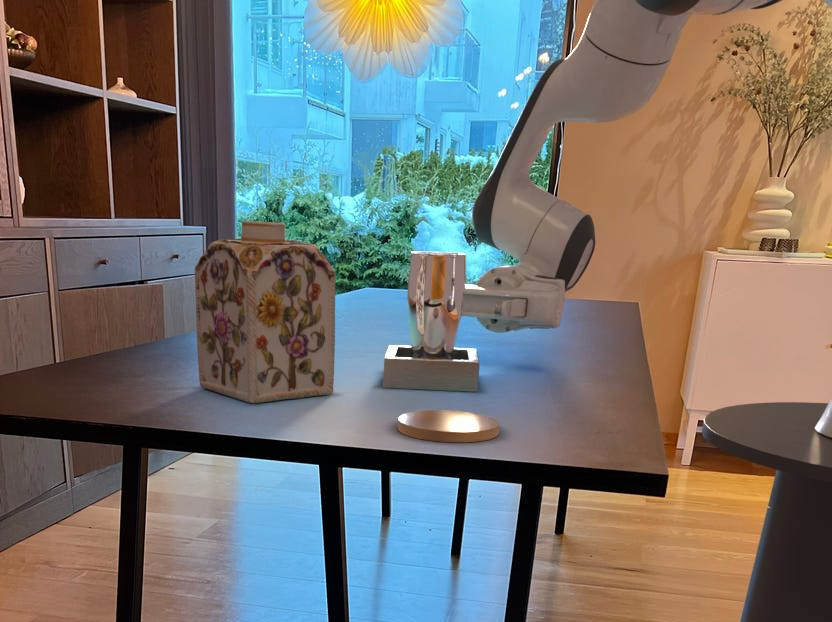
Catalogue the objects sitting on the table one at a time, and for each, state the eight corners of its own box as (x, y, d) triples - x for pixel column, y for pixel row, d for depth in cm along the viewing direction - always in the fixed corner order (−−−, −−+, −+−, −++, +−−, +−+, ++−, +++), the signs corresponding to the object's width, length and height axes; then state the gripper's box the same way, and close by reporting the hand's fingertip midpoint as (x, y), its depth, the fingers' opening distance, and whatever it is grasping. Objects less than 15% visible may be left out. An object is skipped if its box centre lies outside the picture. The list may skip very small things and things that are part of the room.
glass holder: (474, 376, 118) (476, 348, 117) (477, 392, 108) (479, 362, 106) (387, 372, 119) (389, 345, 117) (383, 387, 109) (384, 357, 107)
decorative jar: (196, 387, 105) (189, 218, 97) (278, 379, 112) (277, 220, 104) (252, 405, 97) (248, 222, 89) (337, 395, 103) (340, 223, 96)
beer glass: (442, 388, 109) (451, 255, 103) (392, 382, 112) (398, 252, 106) (467, 381, 114) (477, 253, 108) (419, 375, 118) (427, 250, 111)
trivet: (495, 422, 93) (496, 412, 92) (501, 444, 84) (502, 434, 83) (399, 417, 93) (400, 408, 93) (395, 439, 84) (395, 429, 84)
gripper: (440, 271, 131) (396, 275, 120) (576, 280, 122) (542, 285, 111) (437, 317, 134) (394, 325, 123) (570, 328, 125) (536, 338, 114)
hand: (466, 306), depth 117 cm, fingers open, 8 cm apart
